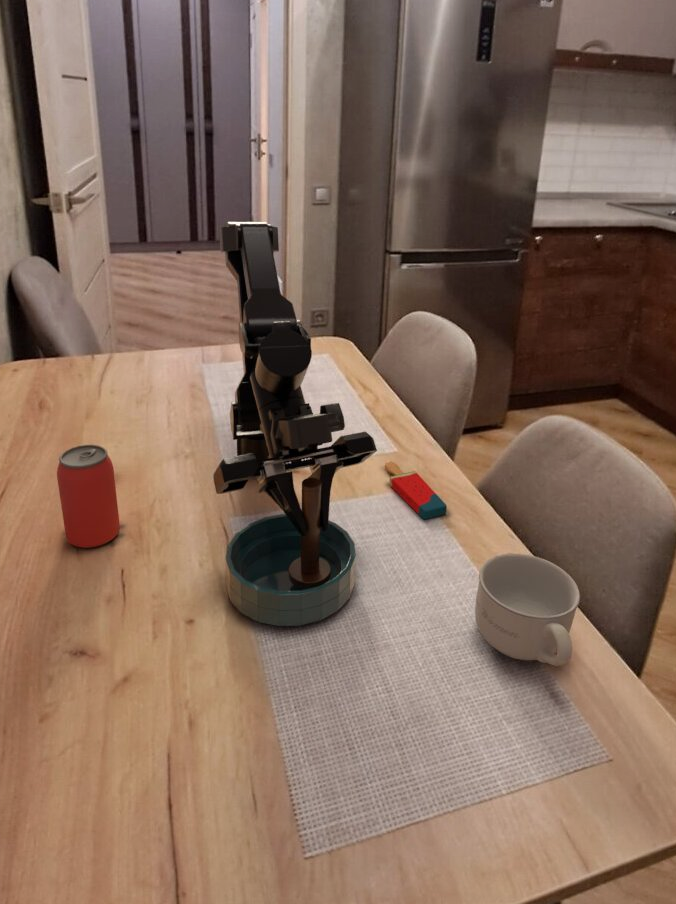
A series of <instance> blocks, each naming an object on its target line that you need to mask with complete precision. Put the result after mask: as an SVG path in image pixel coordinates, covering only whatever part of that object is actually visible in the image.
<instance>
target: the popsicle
mask: <svg viewBox="0 0 676 904" xmlns="http://www.w3.org/2000/svg"><path fill="white" fill-rule="evenodd" d="M384 468H385V469H386V470H387V471H388V472H389V473H391V474H392V475H390V476H389V487H391V488H392V489H393V490H394V491H395V492H396V493H397V494H398V496H399V497H401V498H402V499H403V500H404V501H405V502H406V503H407V504H408V505H409V506H410V507H411V508H412V509H413V510H414V511H415V512H416V513H417V514H418V515H419V516H420V517H421V518H422V519H423V520H428V519H433V518H435V517H441V516H444V515H446V514H447V508H448V505H447V504H446V503H445V502H444V500H443V499H442V498H440V496H439V495H438V494H437V493H436V492H435V491H434V490H433V488H432V487H431V486H430V485H429V484H428V483H427V482H426V481H425V480H424V479H423V478H422V477H421V476H420V475H419V473H418V472H417V471H415V470H413V471H409V472H402V469H401V467H400V466H399V465H398V464H397V463H396V462H395V461H388V462H384Z"/></svg>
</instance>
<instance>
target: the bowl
mask: <svg viewBox="0 0 676 904" xmlns="http://www.w3.org/2000/svg"><path fill="white" fill-rule="evenodd" d="M356 555H357V553H356V544H355V542H354V540H353V538H352V537H351V536H350V534H349V532H348V531H347V530H346V529H344V528H343V527H341V526H340V525H339V524H338V523H336V522H334V521H331V520H329V521H328V529H327V530H326V531H322V529H321V526H320V554H319V557H321V558H323V559H325V560H326V561H327V562H328V563H329V565H330V567H331V576H330V579H329V581H328V582H327V583H325V584H323V585H321V586H318V587H314V588H310V589H302V588H298V587H296V586H295V585H293V584H292V583H291V581H290V579H289V566H290V564H291V563H292V562H293V561H294V560H296V559H297V558H300V557H301V534H300V533H299V532H298V530H297V529H296V528H295V526H294V525H293V524H292V522H291V521H290V520H289V518H288V517H287V516H286V514H285V513H280V514H275V515H271V516H265V517H262V518H261V519H258V520H255V521H253V522H250V523H249V524H247V525H245V526H244V527H243V528H241V529H240V530H239V531H238V532H236V533H235V534H234V536H233V537H232V538H231V539H230V542H228V544H227V546H226V553H225V556H224V557H225V559H224V560H225V586H226V587H225V588H226V591H227V594H228V597H229V600H230V602H231V604H232V605H233V606H234V607H235V608H236V609H237V610H238V611H239V612H240V614H242V615H244V616H246V617H247V618H250V619H252V620H254V621H256V622H259V623H261V624H267V625H271V626H277V627H294V626H304V625H308V624H312V623H315V622H320V621H321V620H324V619H325V618H327V617H329V616H331V615H332V614H335V613H336V612H338V611H339V610H340V609H341V608H342V607H343V606H344V605H345V603H346V602H347V601H348V600H349V599H350V597H351V595H352V592H353V589H354V586H355V581H356V580H355V579H356V577H355V576H356V558H357V556H356Z"/></svg>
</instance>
